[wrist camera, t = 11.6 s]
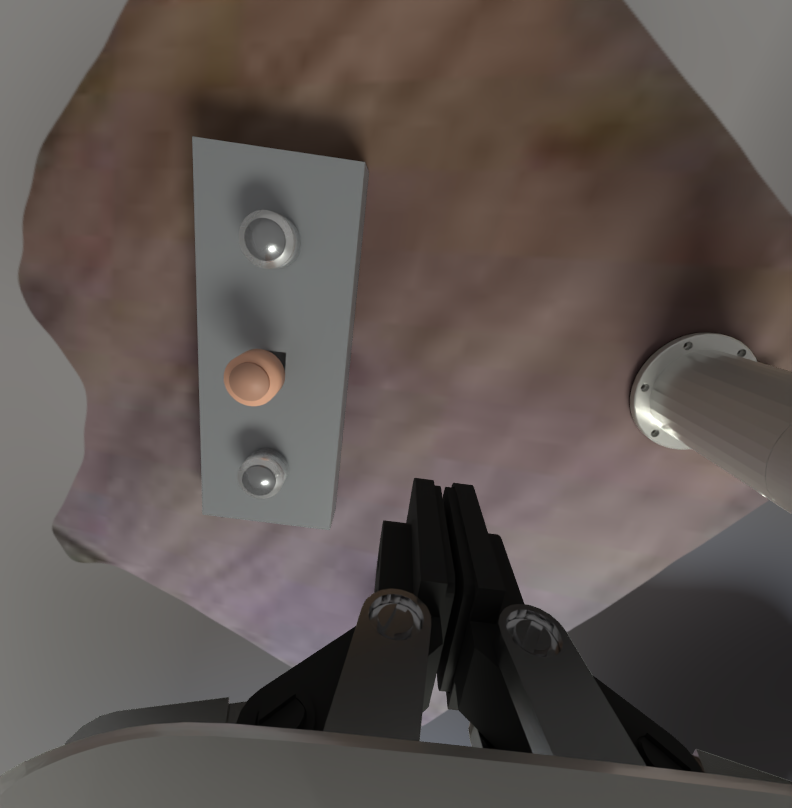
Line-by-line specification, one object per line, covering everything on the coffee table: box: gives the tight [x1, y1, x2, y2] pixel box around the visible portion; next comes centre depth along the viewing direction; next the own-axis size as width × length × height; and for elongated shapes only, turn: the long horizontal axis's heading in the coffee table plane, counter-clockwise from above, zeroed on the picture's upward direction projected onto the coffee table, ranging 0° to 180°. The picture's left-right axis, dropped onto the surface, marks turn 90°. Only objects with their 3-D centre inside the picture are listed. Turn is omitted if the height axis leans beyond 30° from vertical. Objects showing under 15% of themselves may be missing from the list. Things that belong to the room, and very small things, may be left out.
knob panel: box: [192, 136, 369, 530], centre depth 41 cm, size 14×36×4 cm, turn 172°
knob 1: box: [239, 210, 300, 269], centre depth 35 cm, size 4×4×6 cm
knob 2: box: [237, 448, 289, 499], centre depth 43 cm, size 4×4×6 cm
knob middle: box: [224, 349, 285, 406], centre depth 36 cm, size 4×4×6 cm
